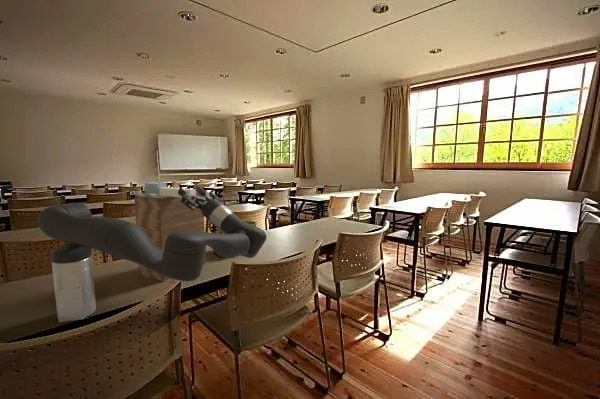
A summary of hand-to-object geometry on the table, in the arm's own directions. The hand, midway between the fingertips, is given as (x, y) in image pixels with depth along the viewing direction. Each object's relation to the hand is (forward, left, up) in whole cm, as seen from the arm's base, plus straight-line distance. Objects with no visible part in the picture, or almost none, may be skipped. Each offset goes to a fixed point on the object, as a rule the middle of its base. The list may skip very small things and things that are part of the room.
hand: (188, 189), depth 109 cm
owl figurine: (+30, -16, -36) cm, 49 cm away
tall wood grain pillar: (+14, +7, -35) cm, 39 cm away
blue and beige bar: (+7, +7, -3) cm, 10 cm away
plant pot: (+46, -29, -36) cm, 65 cm away
